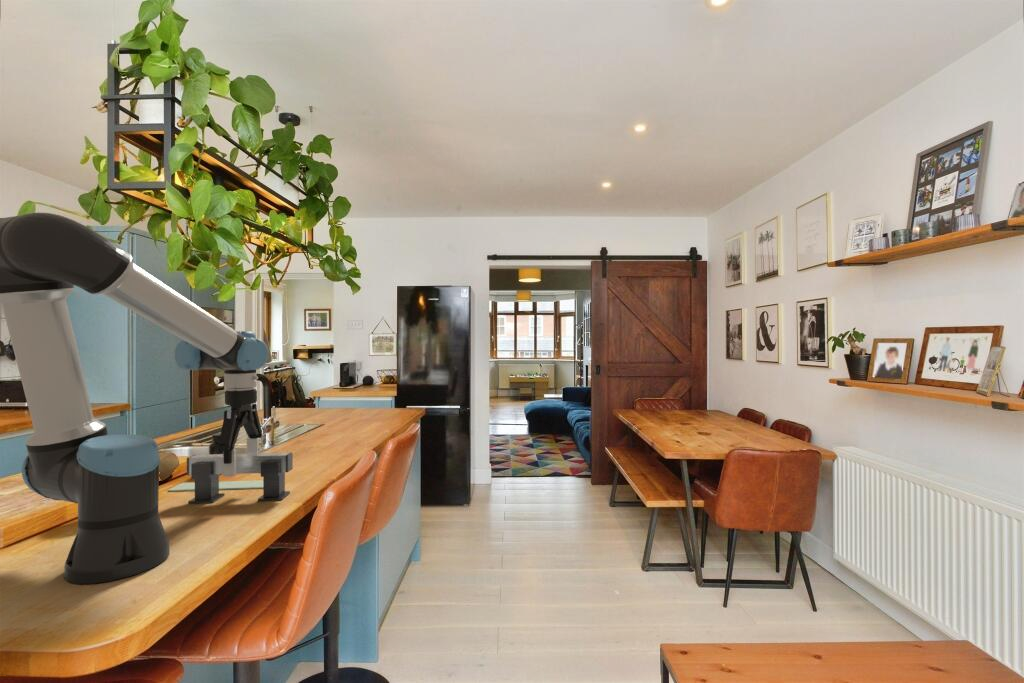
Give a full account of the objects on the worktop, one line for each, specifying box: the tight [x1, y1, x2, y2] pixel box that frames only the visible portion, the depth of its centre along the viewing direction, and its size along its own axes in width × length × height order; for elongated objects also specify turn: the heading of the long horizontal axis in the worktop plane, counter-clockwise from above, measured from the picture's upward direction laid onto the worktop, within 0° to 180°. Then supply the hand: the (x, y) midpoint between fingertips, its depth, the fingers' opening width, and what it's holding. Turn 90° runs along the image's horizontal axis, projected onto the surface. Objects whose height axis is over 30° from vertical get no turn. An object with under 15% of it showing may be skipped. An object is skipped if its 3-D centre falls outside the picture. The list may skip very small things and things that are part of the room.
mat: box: [167, 479, 263, 493], centre depth 139 cm, size 7×28×1 cm, turn 96°
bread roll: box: [159, 451, 180, 482], centre depth 146 cm, size 10×15×8 cm, turn 19°
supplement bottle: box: [208, 432, 223, 454], centre depth 155 cm, size 7×7×12 cm
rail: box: [186, 451, 294, 476], centre depth 128 cm, size 4×25×4 cm, turn 96°
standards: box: [188, 461, 291, 504], centre depth 128 cm, size 6×23×10 cm, turn 96°
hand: (241, 468), depth 128 cm, fingers open, 13 cm apart
